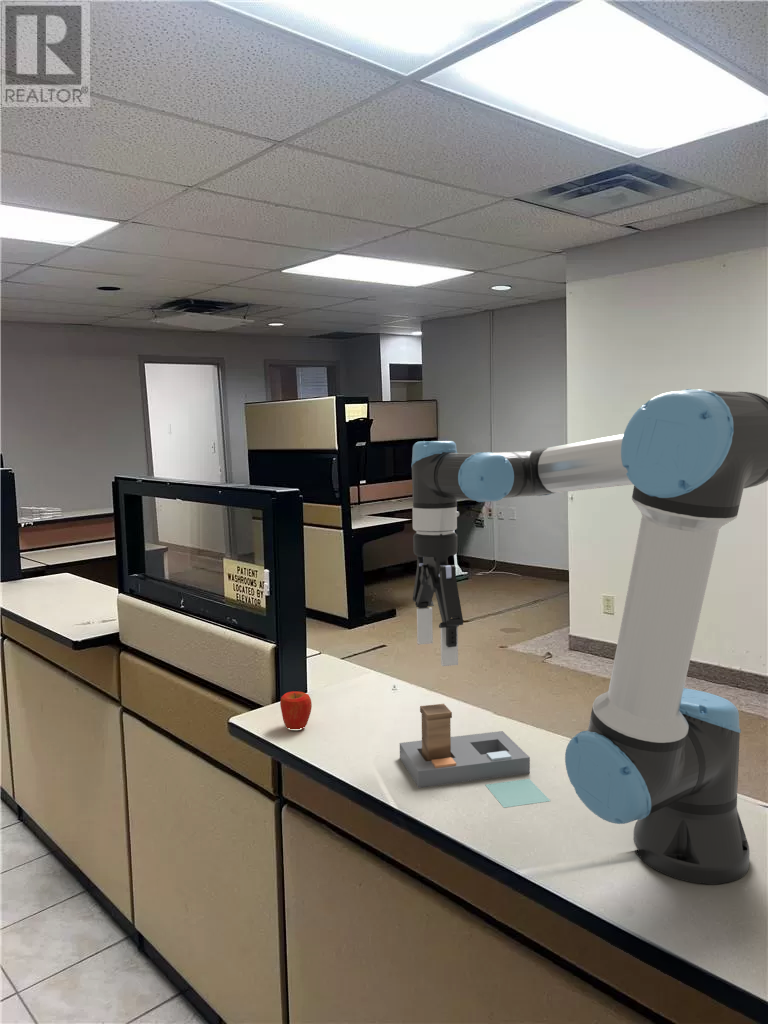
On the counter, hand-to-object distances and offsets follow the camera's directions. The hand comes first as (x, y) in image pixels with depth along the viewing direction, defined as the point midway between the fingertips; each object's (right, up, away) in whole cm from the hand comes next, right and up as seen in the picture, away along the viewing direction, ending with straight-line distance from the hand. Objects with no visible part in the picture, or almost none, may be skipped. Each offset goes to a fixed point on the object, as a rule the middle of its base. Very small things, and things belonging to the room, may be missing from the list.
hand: (436, 653), depth 129 cm
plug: (0, -22, +2) cm, 22 cm away
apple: (-27, -20, +24) cm, 42 cm away
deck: (+13, -22, -7) cm, 27 cm away
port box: (+5, -22, +3) cm, 22 cm away
